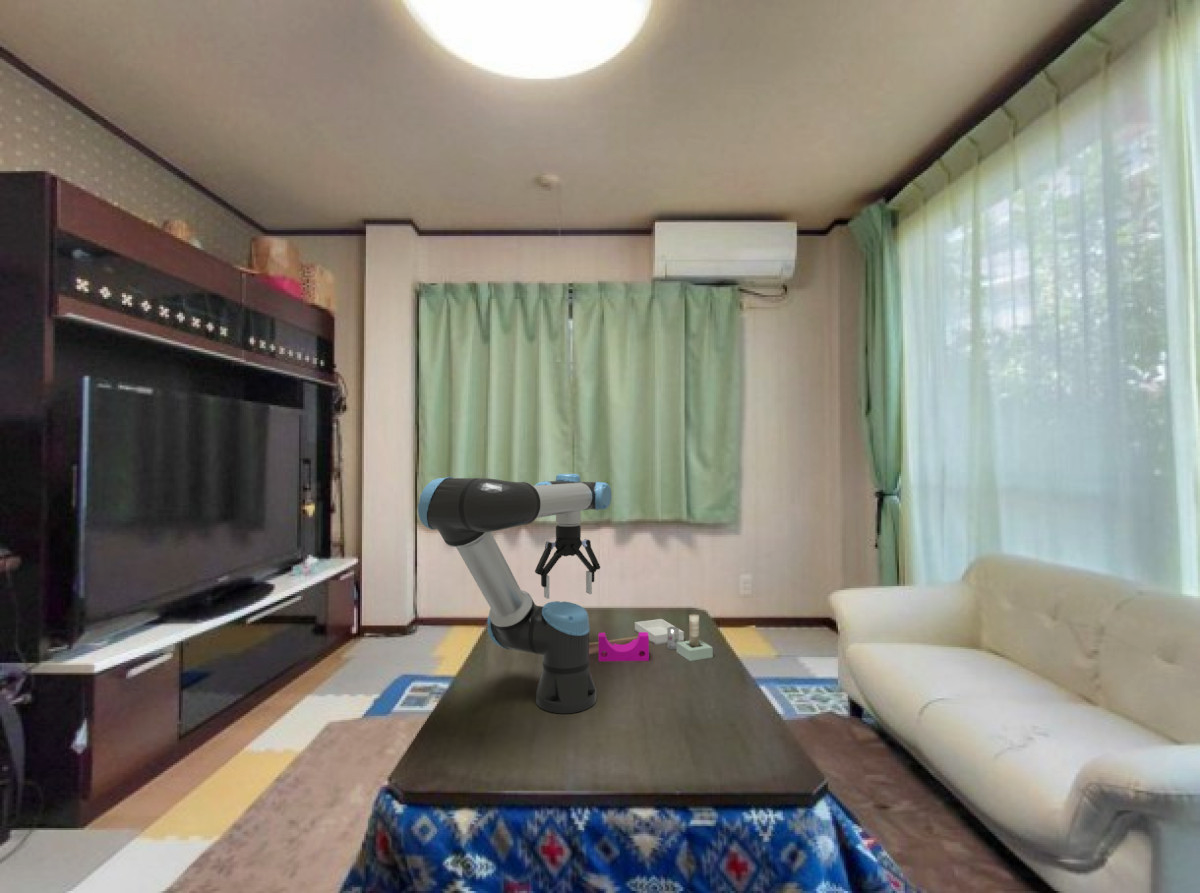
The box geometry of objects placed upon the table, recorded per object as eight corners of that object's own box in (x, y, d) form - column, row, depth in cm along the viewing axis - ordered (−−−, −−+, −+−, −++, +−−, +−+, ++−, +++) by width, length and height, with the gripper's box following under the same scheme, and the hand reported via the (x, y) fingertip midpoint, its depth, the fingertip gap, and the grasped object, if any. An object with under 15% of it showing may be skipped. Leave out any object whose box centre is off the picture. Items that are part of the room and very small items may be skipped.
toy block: (646, 653, 169) (646, 629, 169) (648, 661, 163) (648, 636, 163) (598, 654, 169) (598, 630, 169) (598, 661, 163) (598, 636, 163)
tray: (683, 640, 180) (683, 631, 180) (655, 645, 176) (655, 635, 176) (661, 627, 195) (661, 618, 195) (634, 630, 191) (634, 622, 191)
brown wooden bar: (647, 645, 176) (647, 636, 176) (582, 655, 168) (582, 645, 168) (645, 644, 177) (645, 635, 177) (581, 653, 169) (581, 643, 169)
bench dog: (680, 648, 173) (680, 629, 173) (670, 650, 172) (670, 631, 172) (675, 645, 176) (675, 626, 176) (665, 646, 175) (665, 627, 175)
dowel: (701, 655, 167) (700, 616, 167) (692, 657, 166) (692, 617, 166) (696, 652, 170) (695, 613, 170) (687, 653, 169) (687, 614, 169)
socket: (712, 657, 165) (712, 647, 165) (689, 661, 163) (689, 650, 163) (698, 648, 173) (698, 639, 173) (676, 652, 170) (676, 642, 170)
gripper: (600, 521, 174) (600, 588, 173) (524, 525, 164) (524, 596, 163) (610, 524, 167) (610, 593, 166) (532, 528, 157) (532, 602, 156)
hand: (568, 595), depth 165 cm, fingers open, 13 cm apart
